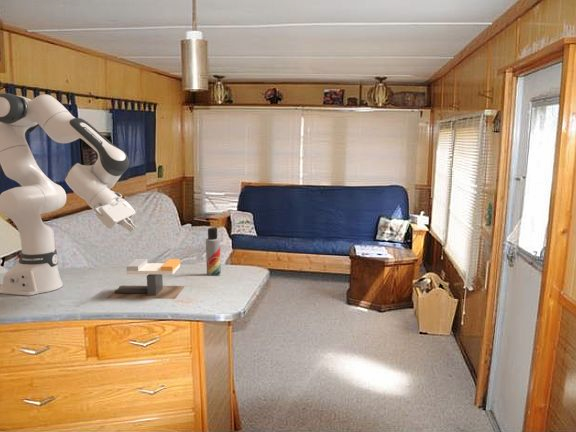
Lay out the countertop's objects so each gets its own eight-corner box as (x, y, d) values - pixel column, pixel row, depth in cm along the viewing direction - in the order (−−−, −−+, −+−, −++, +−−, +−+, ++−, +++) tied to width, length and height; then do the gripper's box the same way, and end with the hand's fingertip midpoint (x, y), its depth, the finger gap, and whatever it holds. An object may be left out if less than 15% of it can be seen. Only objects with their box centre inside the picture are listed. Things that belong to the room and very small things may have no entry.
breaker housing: (147, 295, 171) (146, 276, 170) (154, 288, 179) (153, 269, 178) (156, 295, 171) (155, 276, 170) (162, 288, 179) (162, 269, 178)
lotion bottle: (218, 277, 197) (216, 228, 194) (204, 276, 198) (203, 228, 195) (222, 273, 202) (221, 226, 199) (209, 272, 204) (208, 225, 200)
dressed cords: (114, 293, 173) (114, 290, 173) (120, 289, 178) (120, 285, 178) (148, 294, 173) (148, 290, 172) (153, 289, 178) (153, 285, 178)
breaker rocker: (126, 274, 169) (126, 266, 169) (137, 266, 179) (136, 258, 179) (172, 274, 168) (172, 266, 168) (180, 266, 178) (179, 259, 178)
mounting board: (106, 302, 169) (106, 298, 169) (121, 289, 183) (121, 285, 183) (175, 302, 168) (175, 298, 168) (185, 289, 182) (185, 285, 182)
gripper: (97, 199, 160) (129, 229, 161) (121, 192, 180) (148, 218, 181) (85, 213, 161) (116, 242, 162) (110, 204, 181) (137, 230, 182)
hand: (133, 229), depth 172 cm, fingers closed
